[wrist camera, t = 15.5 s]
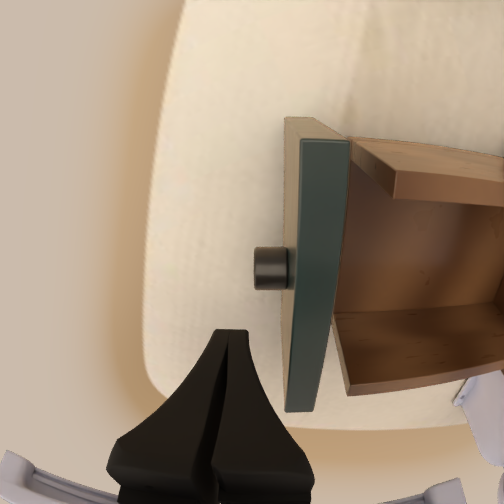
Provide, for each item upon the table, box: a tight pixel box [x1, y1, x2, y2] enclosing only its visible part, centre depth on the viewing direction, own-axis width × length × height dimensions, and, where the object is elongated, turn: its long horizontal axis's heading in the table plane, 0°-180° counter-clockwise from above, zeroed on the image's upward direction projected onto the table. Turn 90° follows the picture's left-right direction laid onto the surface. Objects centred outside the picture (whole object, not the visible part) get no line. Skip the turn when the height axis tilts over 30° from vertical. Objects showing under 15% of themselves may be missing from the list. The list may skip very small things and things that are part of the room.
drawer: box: [254, 117, 504, 413], centre depth 12 cm, size 15×10×6 cm
